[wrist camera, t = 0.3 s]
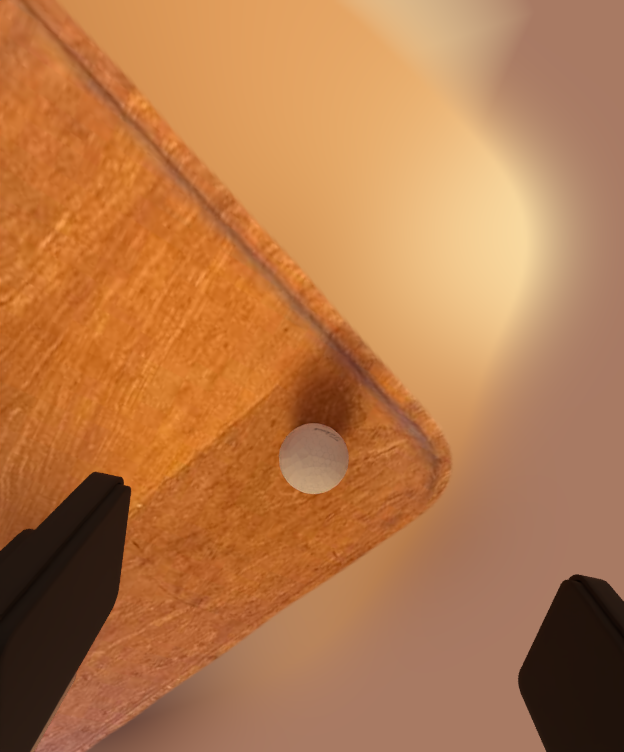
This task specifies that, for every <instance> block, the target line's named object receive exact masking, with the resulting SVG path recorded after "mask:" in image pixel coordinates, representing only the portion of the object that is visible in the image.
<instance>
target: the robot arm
mask: <svg viewBox="0 0 624 752" xmlns="http://www.w3.org/2000/svg"><path fill="white" fill-rule="evenodd" d="M130 496H131V488H130V487H129V486H125V485H124V481H123V478H122V477H118V476H113V475H108V474H104V473H99V472H93V473H92V474H90V475H89V476H88V477H87V478H86V479H85V480H84V481H83V482H82V483H81V484H80V485H79V486H78V487H77V488H76V489H75V490H74V491H73V492H72V493H71V494H70V495H69V496H68V497H67V498H66V499H65V500H64V501H63V502H62V503H61V504H60V505H59V506H58V507H57V508H56V509H55V510H54V511H53V512H52V513H51V514H50V515H49V516H48V517H47V518H46V519H45V520H44V521H43V522H42V523H41V524H40V525H39V526H38V527H37V528H36V529H35V530H33V529H26V530H23V531H22V532H21V533H19V534H18V535H17V536H16V537H15V538H14V539H13V540H12V541H10V542H9V543H8V544H7V545H6V546H5V547H4V548H3V549H2V550H1V551H0V752H31V750H32V748H33V746H34V745H35V743H36V741H37V739H38V738H39V736H40V734H41V732H42V731H43V729H44V727H45V726H46V724H47V722H48V720H49V719H50V717H51V715H52V713H53V712H54V710H55V708H56V706H57V705H58V703H59V701H60V699H61V698H62V696H63V694H64V692H65V691H66V689H67V687H68V685H69V684H70V682H71V680H72V678H73V677H74V675H75V673H76V671H77V670H78V668H79V666H80V664H81V663H82V661H83V659H84V657H85V656H86V654H87V652H88V651H89V649H90V647H91V645H92V644H93V642H94V640H95V638H96V637H97V635H98V633H99V631H100V630H101V628H102V626H103V624H104V623H105V621H106V619H107V617H108V616H109V614H110V612H111V610H112V608H113V606H114V604H115V601H116V598H117V595H118V590H119V583H120V575H121V567H122V559H123V551H124V544H125V536H126V528H127V520H128V512H129V504H130ZM518 684H519V689H520V692H521V695H522V697H523V699H524V701H525V704H526V706H527V708H528V711H529V713H530V715H531V718H532V720H533V722H534V724H535V727H536V729H537V731H538V733H539V736H540V738H541V740H542V743H543V745H544V747H545V750H546V752H624V601H623V600H622V599H621V598H620V597H619V596H618V594H617V593H616V592H615V591H614V590H613V588H612V587H611V586H610V585H609V584H608V583H607V582H606V581H604V580H601V579H597V578H592V577H587V576H582V575H573V576H571V577H570V578H569V580H565V581H563V582H562V584H561V585H560V588H559V589H558V592H557V594H556V596H555V598H554V600H553V602H552V604H551V606H550V609H549V610H548V613H547V615H546V617H545V619H544V621H543V623H542V625H541V627H540V629H539V632H538V634H537V636H536V638H535V640H534V642H533V644H532V646H531V648H530V650H529V652H528V655H527V657H526V659H525V661H524V663H523V666H522V667H521V669H520V672H519V678H518Z"/></svg>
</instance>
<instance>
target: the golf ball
mask: <svg viewBox="0 0 624 752" xmlns="http://www.w3.org/2000/svg"><path fill="white" fill-rule="evenodd" d="M348 461H349V456H348V450H347V447H346V444H345V442H344V440H343V439H342V437H341V436H340V435H339V434H338V433H337V432H336V431H335V430H333V429H332V428H331V427H328V426H326V425H323V424H318V423H309V424H304V425H302V426H300V427H297V428H295V429H294V430H293V431H292V432H291V433H290V434H289V435H287V436H286V438H285V440H284V442H283V443H282V445H281V448H280V453H279V462H280V468H281V471H282V474H283V476H284V477H285V479H286V480H287V482H288V483H289V484H290V485H291V486H293V487H294V488H296V489H297V490H299V491H301V492H304V493H309V494H319V493H323V492H326V491H329V490H330V489H332V488H334V487H335V486H336V485H338V483H339V482H340V481H341V480H342V478H343V477H344V475H345V473H346V471H347V467H348Z"/></svg>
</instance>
